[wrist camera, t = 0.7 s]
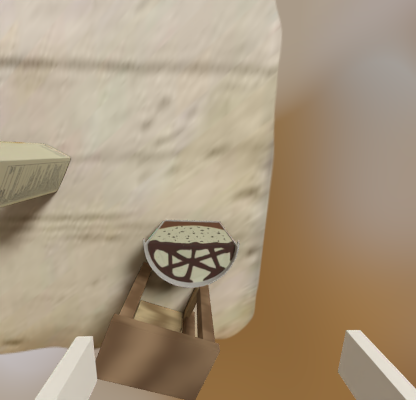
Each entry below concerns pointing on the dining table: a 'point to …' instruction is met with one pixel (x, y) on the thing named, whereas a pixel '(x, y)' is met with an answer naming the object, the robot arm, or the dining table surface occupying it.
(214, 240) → the food container
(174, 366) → the small wooden bench
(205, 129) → the dining table surface
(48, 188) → the skincare box
